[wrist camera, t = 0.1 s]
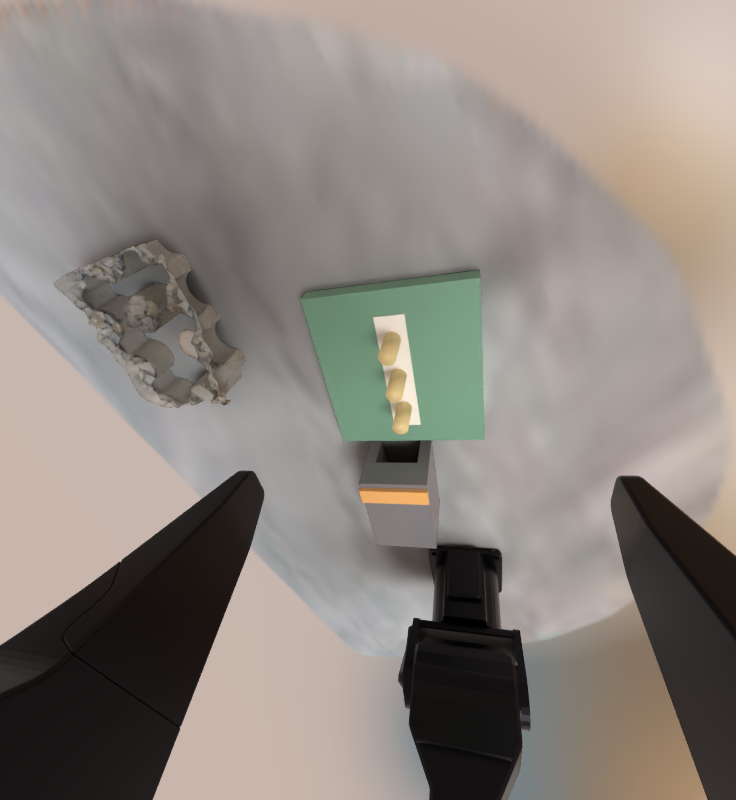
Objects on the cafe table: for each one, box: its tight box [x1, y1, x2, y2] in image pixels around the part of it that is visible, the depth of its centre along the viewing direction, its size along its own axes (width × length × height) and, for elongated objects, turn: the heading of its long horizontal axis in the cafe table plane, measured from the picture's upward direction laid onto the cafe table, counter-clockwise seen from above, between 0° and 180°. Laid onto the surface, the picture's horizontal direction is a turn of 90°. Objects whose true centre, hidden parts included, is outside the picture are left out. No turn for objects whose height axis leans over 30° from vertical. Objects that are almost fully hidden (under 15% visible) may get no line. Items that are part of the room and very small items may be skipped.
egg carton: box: [53, 240, 245, 408], centre depth 25 cm, size 11×8×4 cm
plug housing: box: [359, 440, 440, 549], centre depth 29 cm, size 7×5×5 cm, turn 12°
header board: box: [300, 270, 484, 441], centre depth 23 cm, size 11×10×3 cm
